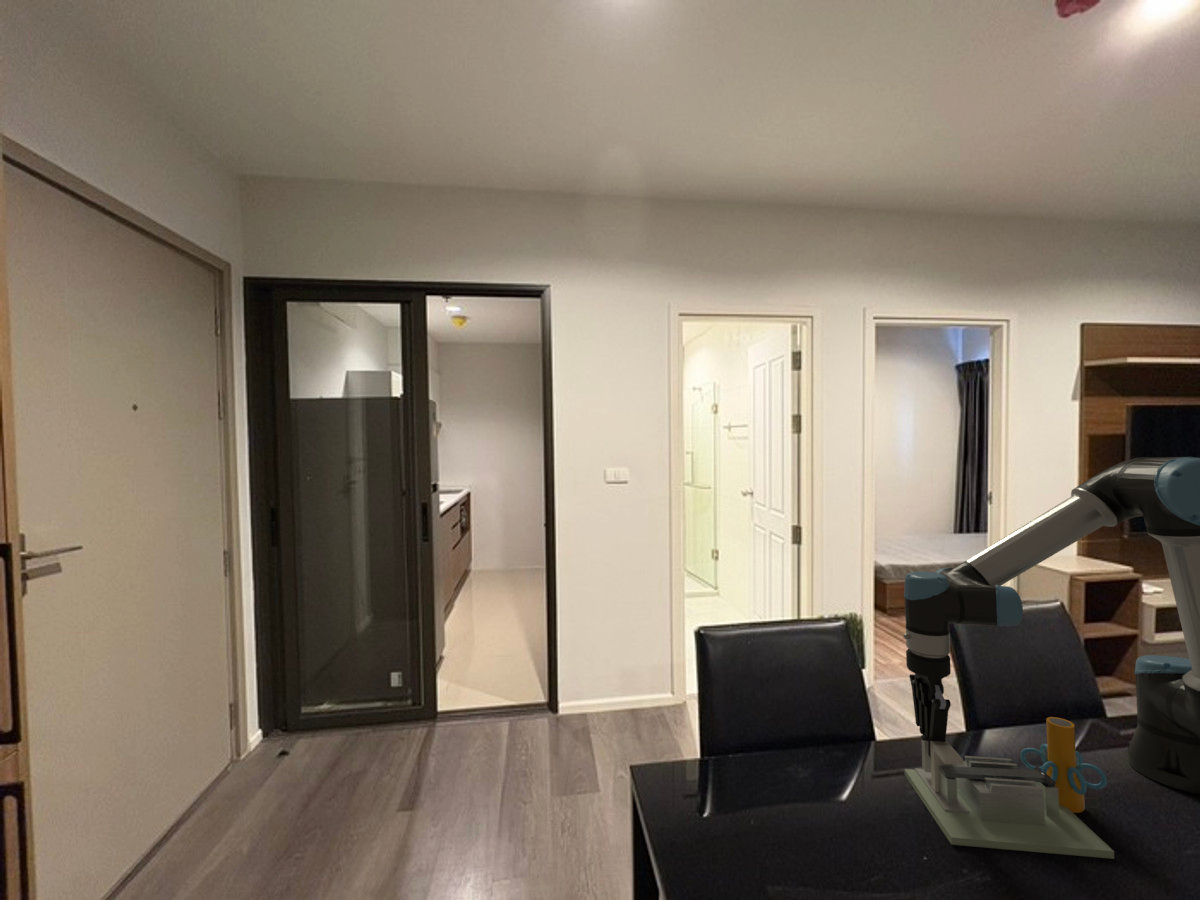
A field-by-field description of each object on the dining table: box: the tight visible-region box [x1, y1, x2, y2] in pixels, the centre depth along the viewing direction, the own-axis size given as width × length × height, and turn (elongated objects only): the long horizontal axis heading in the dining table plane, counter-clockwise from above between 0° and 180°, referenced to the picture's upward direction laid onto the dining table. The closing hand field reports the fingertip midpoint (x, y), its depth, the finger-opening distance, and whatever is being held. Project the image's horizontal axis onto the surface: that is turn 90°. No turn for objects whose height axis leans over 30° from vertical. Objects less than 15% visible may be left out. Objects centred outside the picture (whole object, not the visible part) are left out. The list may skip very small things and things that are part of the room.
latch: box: [930, 741, 964, 793], centre depth 100 cm, size 3×6×9 cm, turn 171°
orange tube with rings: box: [1019, 716, 1108, 814], centre depth 100 cm, size 12×10×15 cm
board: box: [904, 767, 1115, 859], centre depth 98 cm, size 24×20×2 cm
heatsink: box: [940, 755, 1059, 826], centre depth 98 cm, size 18×10×6 cm, turn 81°
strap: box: [939, 765, 1056, 787], centre depth 98 cm, size 18×4×1 cm, turn 81°
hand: (931, 770), depth 107 cm, fingers closed
